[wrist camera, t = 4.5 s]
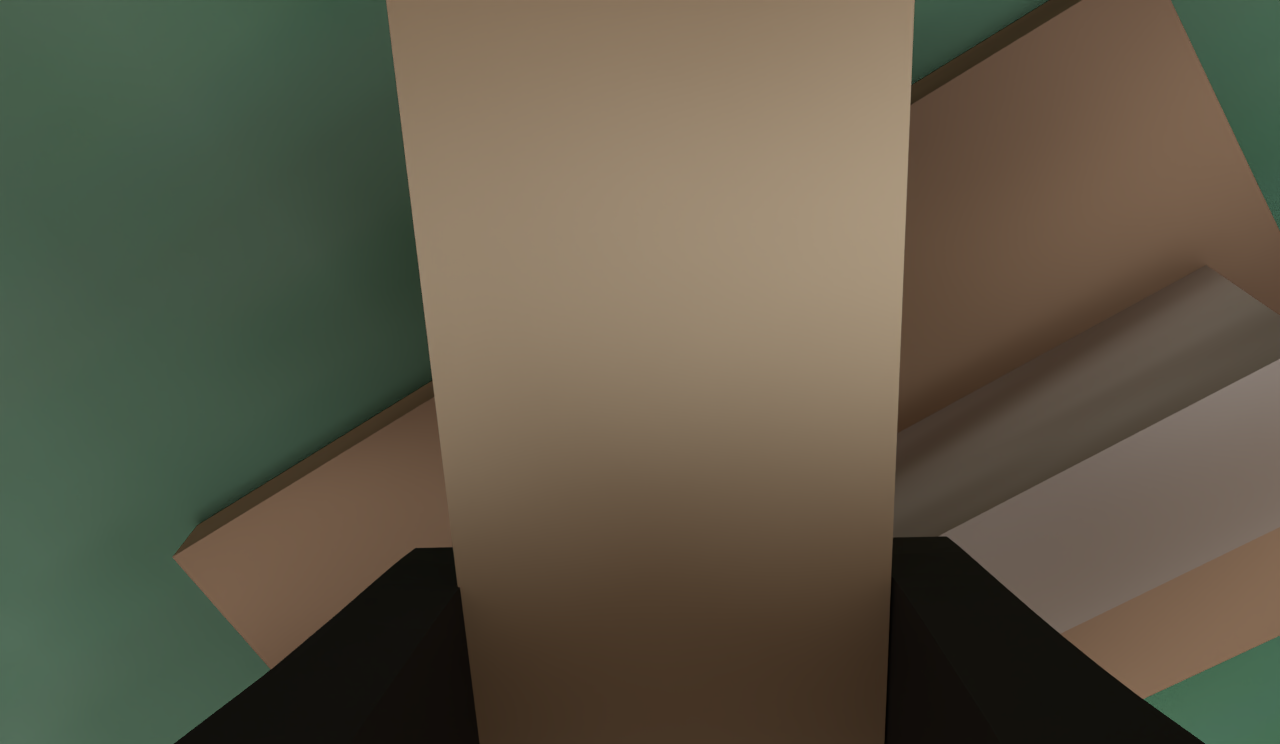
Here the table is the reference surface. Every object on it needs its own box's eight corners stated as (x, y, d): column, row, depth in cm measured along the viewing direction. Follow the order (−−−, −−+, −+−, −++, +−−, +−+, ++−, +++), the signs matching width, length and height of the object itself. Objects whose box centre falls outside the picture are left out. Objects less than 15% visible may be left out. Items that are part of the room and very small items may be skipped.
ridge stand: (196, 525, 19) (79, 673, 16) (1123, -46, 16) (1260, -30, 12) (548, 933, 22) (520, 1142, 18) (1398, 529, 19) (1577, 686, 15)
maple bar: (809, 1072, 17) (853, 1511, 13) (601, 1070, 17) (569, 1503, 13) (832, -682, 10) (962, -1192, 5) (458, -653, 10) (249, -1130, 5)
